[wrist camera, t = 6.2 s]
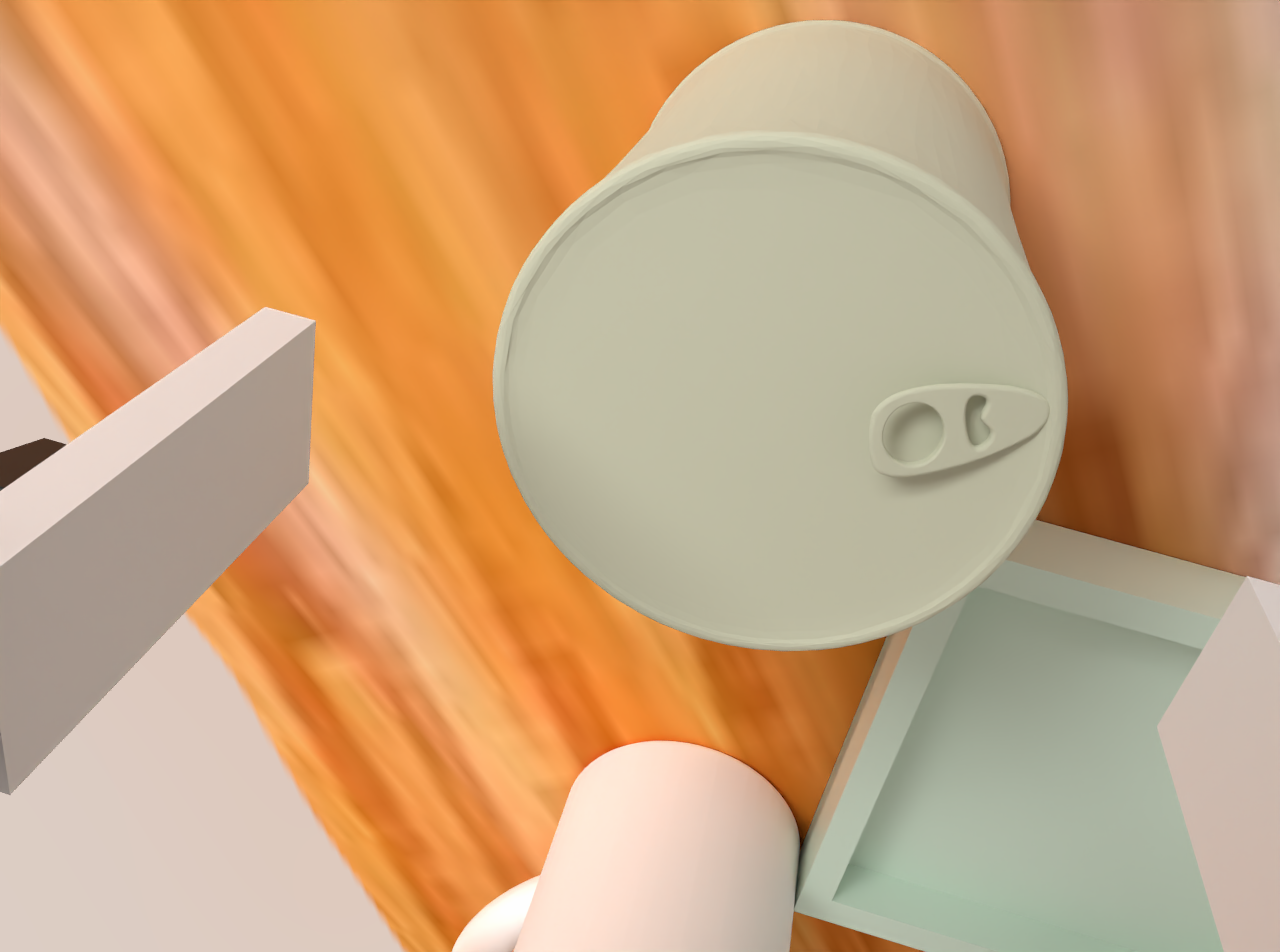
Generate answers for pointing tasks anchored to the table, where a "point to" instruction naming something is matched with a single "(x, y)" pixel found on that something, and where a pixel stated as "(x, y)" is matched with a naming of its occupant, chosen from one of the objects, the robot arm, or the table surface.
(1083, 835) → the tray
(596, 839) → the mug
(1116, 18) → the table surface
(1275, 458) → the table surface
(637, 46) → the table surface
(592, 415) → the can
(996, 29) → the table surface
